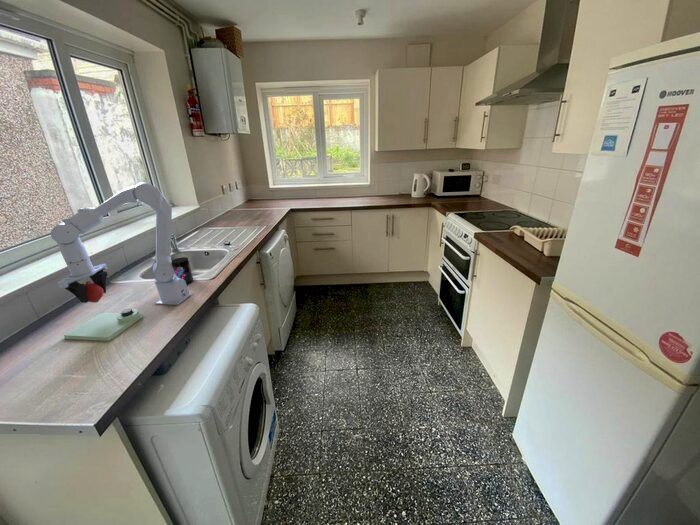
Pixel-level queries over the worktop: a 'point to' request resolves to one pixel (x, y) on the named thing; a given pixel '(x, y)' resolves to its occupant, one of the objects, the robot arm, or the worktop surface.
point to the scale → (104, 326)
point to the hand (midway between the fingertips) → (94, 297)
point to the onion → (93, 291)
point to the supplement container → (182, 269)
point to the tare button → (126, 312)
